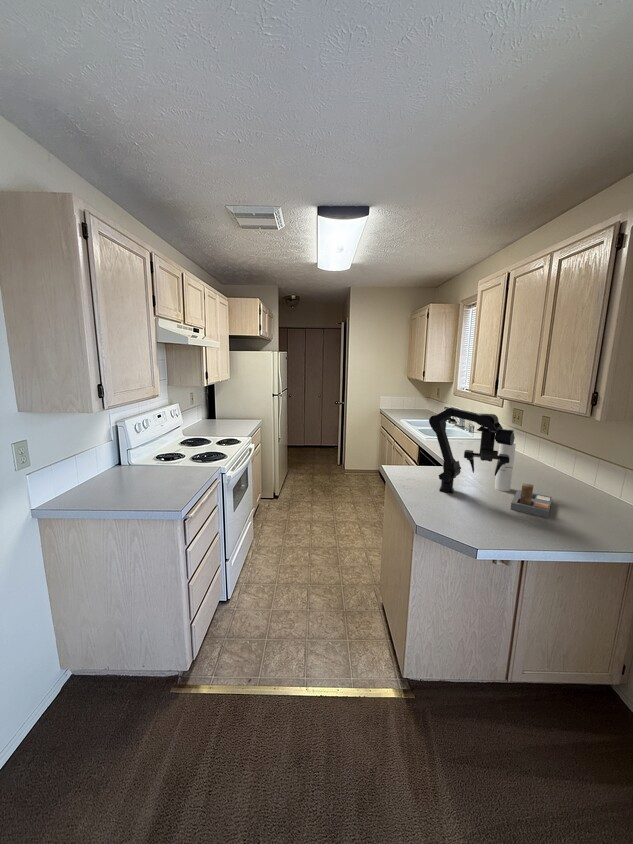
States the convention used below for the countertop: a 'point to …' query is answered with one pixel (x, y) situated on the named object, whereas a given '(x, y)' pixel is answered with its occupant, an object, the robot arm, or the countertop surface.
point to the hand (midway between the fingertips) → (484, 474)
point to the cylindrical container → (505, 468)
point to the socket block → (532, 504)
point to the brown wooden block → (526, 494)
